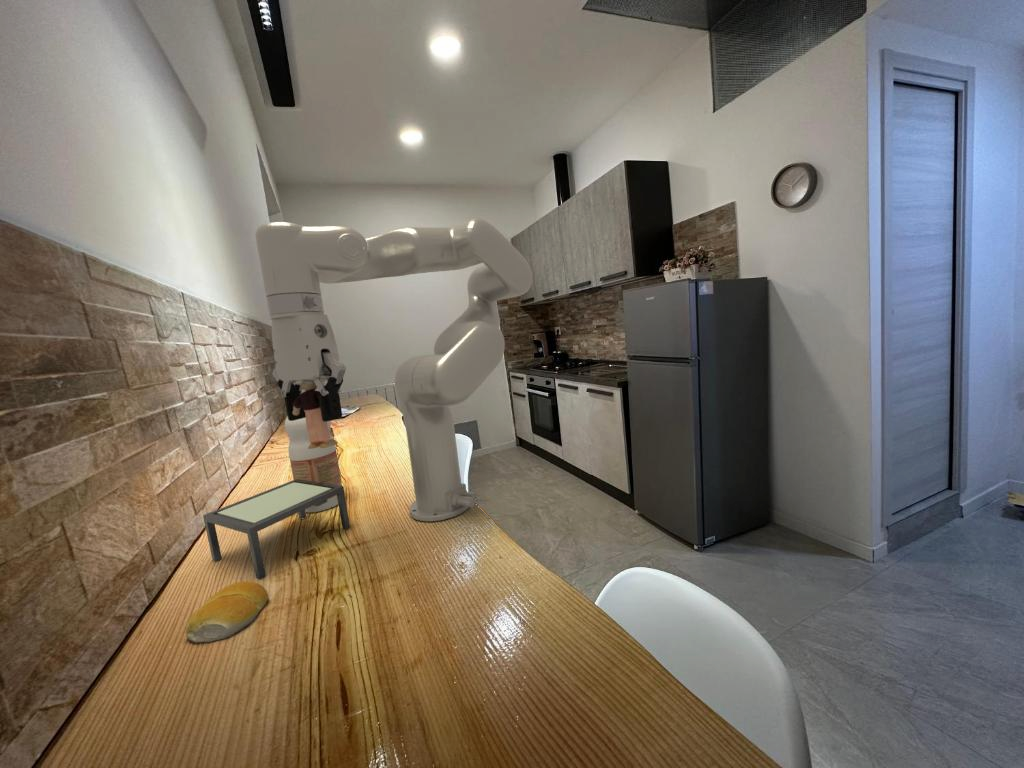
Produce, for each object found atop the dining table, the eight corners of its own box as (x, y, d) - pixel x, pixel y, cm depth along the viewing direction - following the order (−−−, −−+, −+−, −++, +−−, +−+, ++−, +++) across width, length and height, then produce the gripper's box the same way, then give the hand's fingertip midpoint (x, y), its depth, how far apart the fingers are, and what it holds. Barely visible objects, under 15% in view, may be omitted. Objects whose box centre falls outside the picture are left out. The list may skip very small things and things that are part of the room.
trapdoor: (334, 503, 74) (331, 488, 74) (257, 540, 62) (254, 522, 62) (296, 496, 80) (294, 482, 80) (220, 528, 68) (216, 512, 68)
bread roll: (277, 592, 58) (273, 567, 57) (244, 638, 49) (238, 609, 48) (218, 602, 57) (213, 577, 56) (173, 650, 48) (166, 621, 47)
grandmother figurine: (348, 440, 64) (336, 365, 63) (336, 447, 61) (322, 367, 59) (305, 444, 65) (291, 369, 64) (290, 451, 61) (275, 372, 60)
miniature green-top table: (350, 527, 76) (343, 486, 75) (259, 579, 61) (249, 528, 60) (303, 516, 83) (296, 478, 82) (212, 560, 68) (202, 515, 67)
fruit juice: (293, 517, 83) (269, 389, 80) (306, 500, 92) (285, 384, 89) (339, 508, 85) (318, 383, 82) (347, 492, 94) (329, 379, 91)
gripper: (355, 302, 59) (371, 414, 61) (286, 315, 67) (302, 413, 70) (310, 300, 53) (330, 426, 55) (239, 315, 61) (259, 424, 63)
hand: (315, 418), depth 62 cm, fingers closed on grandmother figurine, 7 cm apart
